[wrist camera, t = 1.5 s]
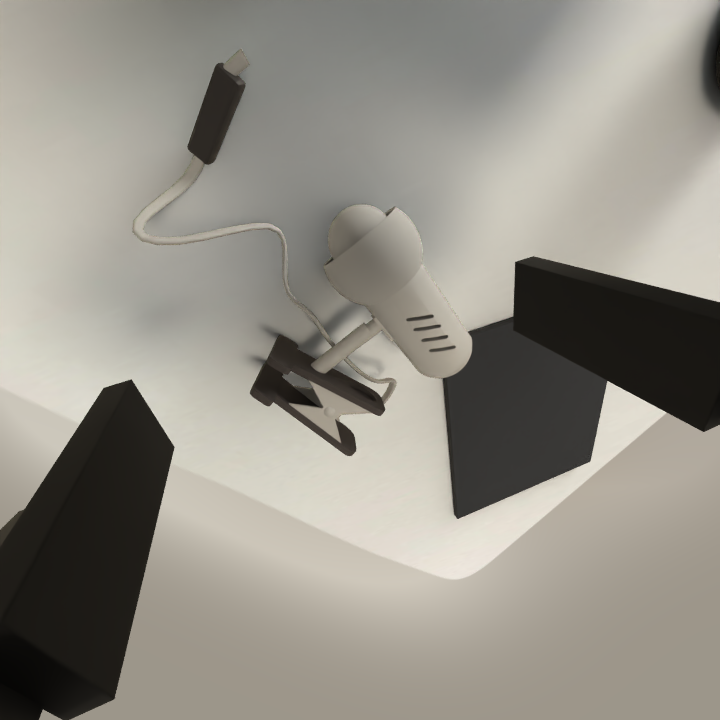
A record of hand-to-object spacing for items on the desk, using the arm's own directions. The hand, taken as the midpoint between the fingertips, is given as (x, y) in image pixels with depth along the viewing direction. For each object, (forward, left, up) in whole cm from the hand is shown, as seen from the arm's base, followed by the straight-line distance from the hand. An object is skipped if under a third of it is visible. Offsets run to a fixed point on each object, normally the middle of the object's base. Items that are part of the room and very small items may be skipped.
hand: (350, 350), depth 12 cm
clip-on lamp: (0, 0, -10) cm, 10 cm away
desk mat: (+17, +16, -10) cm, 25 cm away
